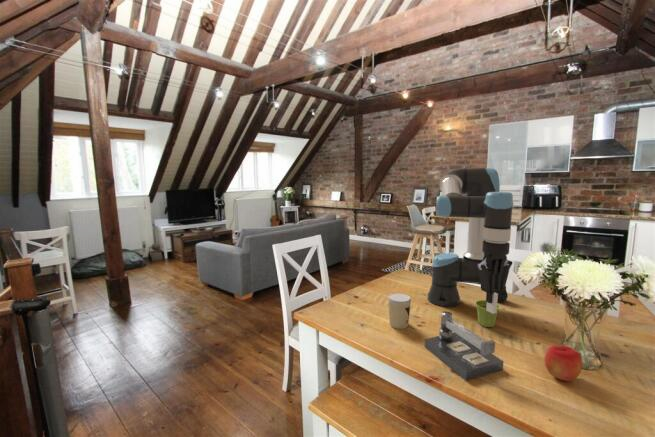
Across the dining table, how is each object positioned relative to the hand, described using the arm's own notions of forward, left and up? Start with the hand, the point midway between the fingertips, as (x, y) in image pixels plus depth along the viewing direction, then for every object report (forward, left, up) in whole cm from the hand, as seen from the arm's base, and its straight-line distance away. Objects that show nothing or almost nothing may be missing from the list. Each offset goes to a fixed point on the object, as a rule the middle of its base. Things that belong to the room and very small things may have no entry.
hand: (491, 311), depth 101 cm
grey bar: (+6, -5, -12) cm, 14 cm away
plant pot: (-21, -20, -18) cm, 34 cm away
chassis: (+6, -5, -18) cm, 20 cm away
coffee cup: (+13, -33, -18) cm, 40 cm away
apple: (-15, +14, -18) cm, 27 cm away
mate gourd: (-46, -36, -18) cm, 61 cm away
